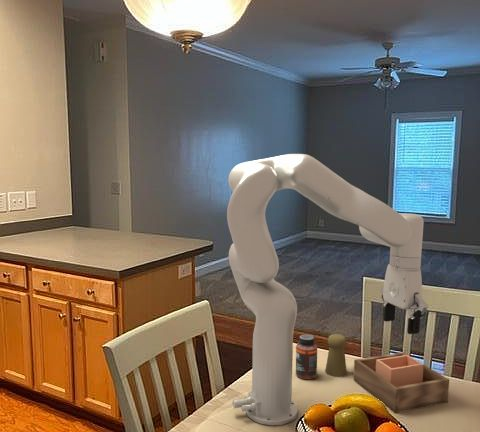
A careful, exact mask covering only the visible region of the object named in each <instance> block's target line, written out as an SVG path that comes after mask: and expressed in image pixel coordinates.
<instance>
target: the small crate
mask: <svg viewBox="0 0 480 432" xmlns="http://www.w3.org/2000/svg"><path fill="white" fill-rule="evenodd" d="M423 365H425V364H424V363H423V362H421V361H419V360H417V359H415V358H414V357H412V356H410V355H409V354H406V355H403V356H396V357H390V358H384V359H377V360H376V373H378V374H379V375H381V376H382V377H383V378H385V379H386V380H388V381H389V382H390V383H392V384H393V385H395V386H396V387H400V386H405V385H411V384H416V383H422V382H423Z"/></svg>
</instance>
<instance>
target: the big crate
mask: <svg viewBox="0 0 480 432" xmlns="http://www.w3.org/2000/svg"><path fill="white" fill-rule="evenodd" d="M403 355H407V354H406V353H405V352H395V353H390V354H384V355H377V356H371V357H370V356H369V357H364V358H357V359H354V362H353V363H354V364H353V381H354V382H355V383H356V384H357V385H358V386H360V387H361V388H362V389H364V390H365V391H366V392H368V394H369V395H371V396H372V397H374V398H375V399H376V398H377V399H376V400H378V399H379V400H380V401H382V402H383V403H384V404H385V405H384V404H383V403H382V404H383V405H384V406H385V407H386V408H388V409H389V410H390V411H392V412H393V413H394V414H397V413H402V412H406V411H412V410H416V409H423V408H427V407H432V406H437V405H443V404H447V403H448V402H449V389H450V379H448V378H447V377H445V376H443V375H442V374H440V373H439V372H437V371H435V370H434V369H431V368H430V367H428V366H427V365H426V364H424V365H423V382H422V383H416V384H411V385H405V386H400V387H396V386H395V385H393V384H392V383H390V382H389V381H388V380H386V379H385V378H383V377H382V376H381V375H379V374H378V373H376V360H377V359H384V358H390V357H396V356H403ZM379 400H378V401H379ZM380 401H379V402H380Z"/></svg>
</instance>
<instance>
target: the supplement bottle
mask: <svg viewBox="0 0 480 432" xmlns="http://www.w3.org/2000/svg"><path fill="white" fill-rule="evenodd" d="M317 375H318V345H317V344H316V343H315V337H314V336H313V335H311V334H302V335H300V336H299V341H298V342H297V343H296V345H295V376H297V378H299V379H303V380H311V379H314V378H317Z"/></svg>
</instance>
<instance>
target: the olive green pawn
mask: <svg viewBox="0 0 480 432" xmlns="http://www.w3.org/2000/svg"><path fill="white" fill-rule="evenodd" d="M327 344H328V346H329V348H328V352H327V360H326V364H325V370H324V371H325V374H326V375H328V376H329V377H333V378H343V377H346V376H347V374H348V373H347V363H346V351H345V347H346V346H347V339H346V337H345V336H344V335H342V334H341V333H339V334H338V333H332V334H330V335H329V336H328V338H327Z"/></svg>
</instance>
